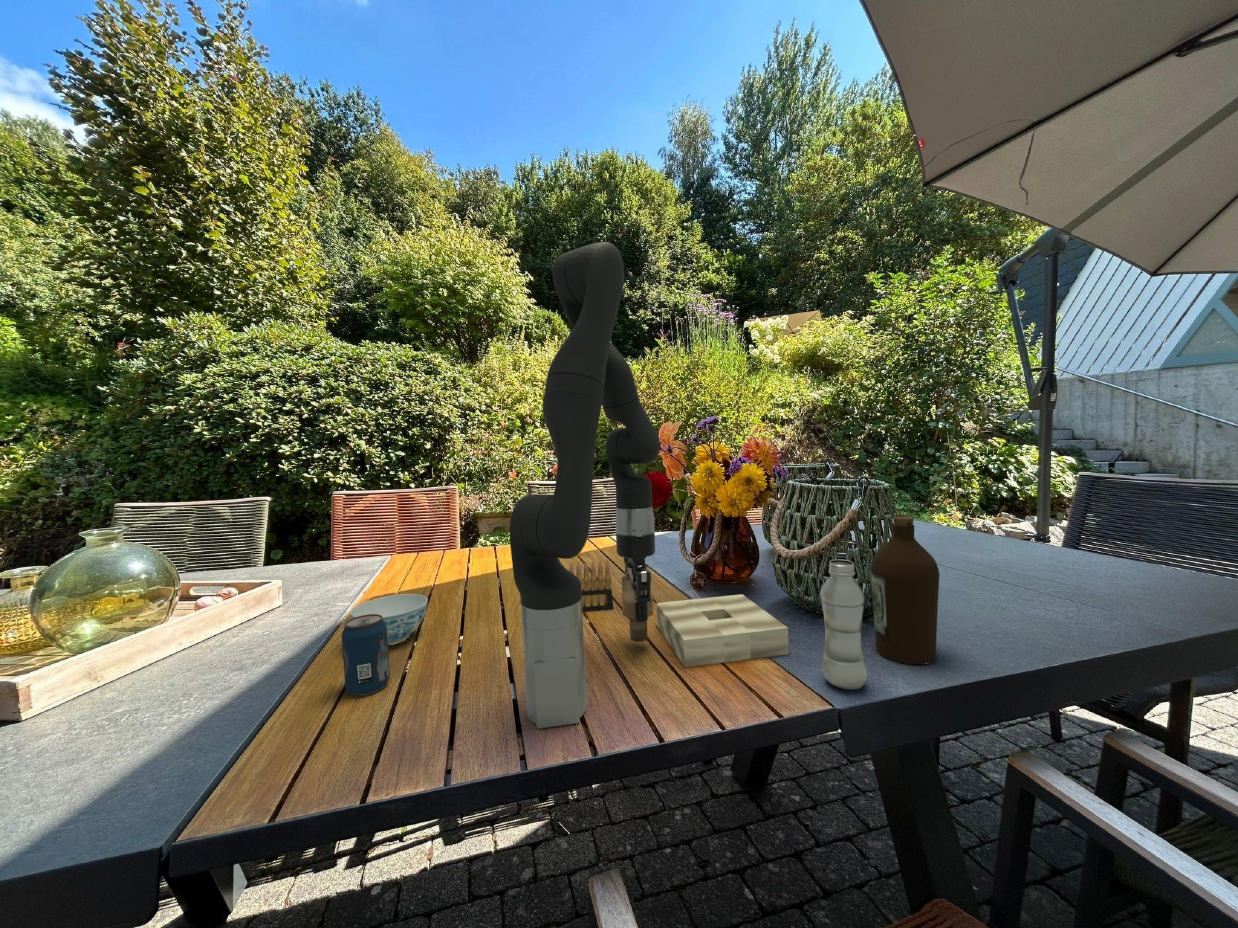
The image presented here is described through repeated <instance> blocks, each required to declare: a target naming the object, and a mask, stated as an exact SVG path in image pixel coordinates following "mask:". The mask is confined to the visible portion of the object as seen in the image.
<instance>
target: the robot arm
mask: <svg viewBox="0 0 1238 928" xmlns="http://www.w3.org/2000/svg"><path fill="white" fill-rule="evenodd" d="M624 268H625V267H624V261H623V258H622V255H621V252H620V251H619V249H618V248H617V247H616V246H615V245H614V244H613V243H610V242H608V241H600V242H593V243H590V244H588V245H584V246H581V247H578V248H576V249H572V250H569V251H566V252H564V253H561V254H560V255H558V256H557V258H556V259H555V261H554V262H553V267H552V279H553V285H554V289H555V292H556V294H557V297H558V299H559V302H560V304H561V307H562V308H563V311H564V313H565V315H566V317H567V320H568V322H569V324H570V326H571V328H572V330H571V332H570V333H569V334H568V336H567V337H566V339H565V340H564V342H563V343H562V345H561V346H560V348H559V349H558V351H557V352H556V354H555V355H554V358H553V360H552V361H551V362H550V364H549V365H550V366H549V368H548V372H547V376H546V381H545V386H544V387H545V388H544V394H543V399H542V414H543V415H542V416H543V419H544V422H545V426H546V428H547V432H548V433H549V436H550V437H549V438H550V439H551V441H552V444H553V448H554V450H555V454H556V460H557V462H556V463H557V464H556V479H555V485H554V491H553V494H538V493H537V494H533V493H532V494H528V495H525V496H523V497H521V498H520V499H519V500H517V502H516V503H515V504H514V507H513V509H512V511H511V513H510V520H509V529H508V530H509V532H508V533H509V546H510V554H511V556H510V557H511V564H512V572H513V573H512V574H513V580H514V583H515V586H516V588H517V590H518V592H519V597H520V610H521V611H520V612H521V613H520V614H521V631H522V634H521V635H522V649H523V650H522V651H523V652H522V653H523V654H522V655H523V669H524V685H525V688H524V689H525V703H526V705H525V706H526V715H527V718H528V719H529V720H530V721H531V722H532V723H534V724H535V725H536V728H537V729H539V730H540V729H545V728H547V729H548V728H551V727H553V728H554V727H559V726H561V727H562V726H567V725H568V726H569V725H574V724H579V723H581V721H580V719H581V717H582V716H584V714H585V713H586V711H587V709H588V700H587V699H588V697H587V680H586V679H587V678H586V661H585V659H586V658H585V639H584V638H585V637H584V622H583V620H584V618H583V616H584V615H583V613H584V612H582V591H581V583H580V580H579V579H578V577H577V576H576V574H575V573H574V574H572V573H571V572H570V571H569V569H567V568H566V567H565V566H564V565H563V564H562V562H561V561H560V559H564V560H565V559H567V560H568V559H572V558H575V557H577V556H578V555H579V554H581V552H582V550H583V549H584V548H585V545H586V544H587V540H588V537H589V533H590V529H591V527H590V526H591V520H592V519H591V518H592V507H593V506H592V502H593V484H594V483H593V481H594V480H593V479H594V475H593V474H594V463H595V462H594V461H595V454H596V445H597V436H598V429H599V422H600V416H601V413H602V412H601V410H603V413H604V415H605V417H606V419H608V420H609V421H612V422H617V423H620V424H622V425H624V426H625V427H620V428H615V429H613V430H610V432H609V434H608V435H607V437H606V441H605V443H604V444H605V448H604V450H605V456H606V459H607V463H608V465H609V468H610V472H611V476H612V479H613V482H614V485H615V500H616V501H615V503H616V505H615V506H616V511H615V539H616V540H615V542H616V544H615V545H616V546H615V547H616V554H617V555H618V556H619V557H622V558H623V561H624V562H623V563H624V576H625V575H626V576H629V578H630V582H631V590H633V591H634V601H635V618H636V621H637V622H646V621H647V622H648V618H649V617H648V614H647V602H650V600H651V575H652V573H651V570H649V565H648V564H646V558H647V557H651V556H654V554H655V553H656V539H655V538H656V537H655V535H656V533H655V516H654V509H653V508H654V507H653V488H652V487H653V485H652V482H651V479H650V478H649V477H646V476H644V475H639V474H638V473H636V472H635V471H634V469H633V466H632V465H646V464H652V463H653V462H655V460H656V459H657V458H658V456H659V453H660V448H661V444H660V442H661V441H660V439H659V438H660V437H659V435H658V432H657V430H656V428H655V426H654V425H653V423H652V421H651V420H650V418H649V416H648V414H647V412H646V411H645V409H644V406H643V405H642V403H641V401H640V398H639V392H638V389H637V385H636V382H635V377H634V375H633V372H632V369H631V366H630V365H629V363H628V361H627V360H626V359H625V358H624V356H623V354H622V353H620V351H619V350H618V349H617V348H616V347H615V345H614V344H613V343H612V342H611V341H612V337H613V336H612V335H613V332H614V327H615V323H616V320H617V315H618V313H619V312H618V311H619V308H620V302H621V300H622V297H623V290H624V285H625V269H624ZM634 581H635V582H636V585H635V584H634ZM640 591H644V595H641V596H640Z"/></svg>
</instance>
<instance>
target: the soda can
mask: <svg viewBox="0 0 1238 928" xmlns="http://www.w3.org/2000/svg"><path fill="white" fill-rule="evenodd" d="M341 647H342V659H343V660H342V663H343V675H344V687H345V689H346V691H348V692H349V693H350V695H352V694H355V695H366V694H370V695H373V694H376V693H377V692H376V691H378V692H380V691H382V690H383V689H384V688H386V686H387V684H388V682H389V680H390V677H391V669H390V665H391V664H390V653H389V646H388V638H387V625H386V624H385V622H384V621H383V619H382V616H381V615H378V614H368V615H362V616H358V617H355V618H350V619H348V620H346V621H345V622H344V628H343V630H342V633H341ZM385 685H386V686H385ZM382 688H383V689H382ZM379 690H380V691H379ZM375 692H376V693H375ZM372 693H373V694H372ZM366 696H367V695H366Z"/></svg>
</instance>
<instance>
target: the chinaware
mask: <svg viewBox="0 0 1238 928" xmlns="http://www.w3.org/2000/svg"><path fill="white" fill-rule="evenodd" d="M428 600H429V599H428V597H426V596H425V595H422V594H418V593H402V594H401V593H400V594H392V595H387V596H382V597H377V598H374V599H371V600H367V601H364V602H362V603H360V604H358V605H356V606H354V607H353V608H352V609H351V610H350V613H349V614H350V617H351V618H350V619H352V618H355V617H358V616H362V615H368V614H378V615H381V616H382V619H383V621H384V622H385V624H386V625H387V638H388V644H392V643H395V642H399V641H402V640H403V639H406V638H407V637H408V636H409V637H410V634H412V633H413V632H414V631H415V630H416V629H417V628H418V627H419V626H420V624H421V623H422V621H423V619H424V617H425V615H426V611H427V607H428Z"/></svg>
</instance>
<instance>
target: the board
mask: <svg viewBox="0 0 1238 928" xmlns="http://www.w3.org/2000/svg"><path fill="white" fill-rule="evenodd" d="M656 623H657V624H656V625H657V627H658V628H659V630H660V632H661V633H662V635H663V636H664V638H665V639H666V641H667V643H669V646H670V647H671V648H672V651H673V652H674V653H675V655H676V656H677V658H678V659H679V661H680V662H681V664H682V665H683V666H684V668H691V667H699V666H708V665H716V664H722V663H723V664H724V663H731V662H739V661H747V660H754V659H763V658H770V657H777V656H779V655H780V656H787V655H789V653H790V651H789V649H790V648H789V628H788V627H787V626H786V625H785V624H783V623H782V622H781V621H779V620H778V619H776V618H775V617H774V616H773V615H771V614H769V612H767V611H766V610H764V609H763V608H762V607H760V606H759V605H758V604H757V603H755V602H753V600H751V599H750V598H749V597H746V596H745V595H744V594H733V595H724V596H712V597H702V598H694V599H684V600H674V601H666V602H665V601H663V602H656Z"/></svg>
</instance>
